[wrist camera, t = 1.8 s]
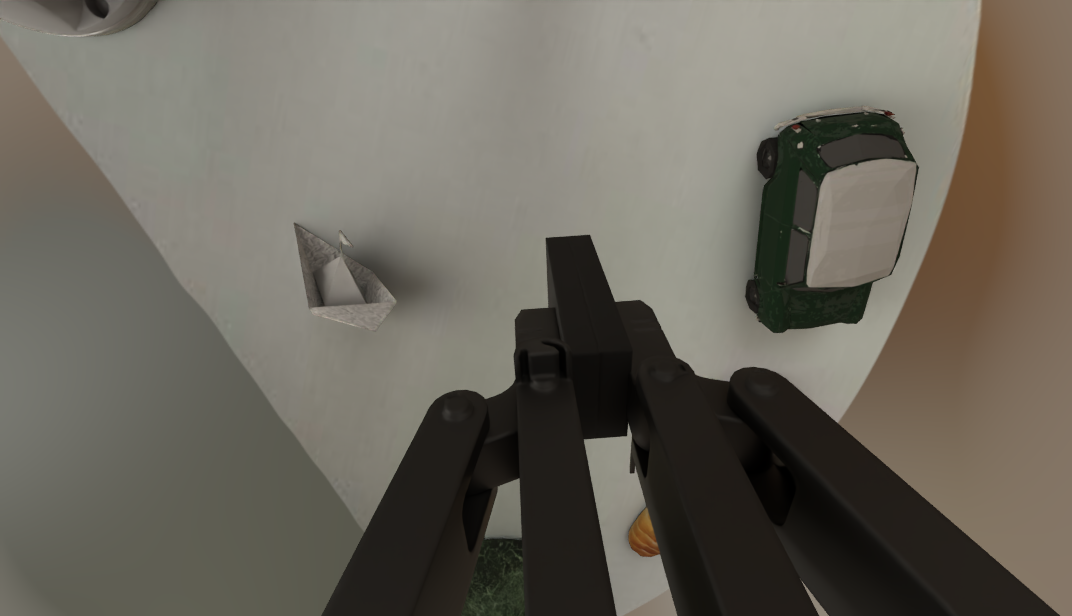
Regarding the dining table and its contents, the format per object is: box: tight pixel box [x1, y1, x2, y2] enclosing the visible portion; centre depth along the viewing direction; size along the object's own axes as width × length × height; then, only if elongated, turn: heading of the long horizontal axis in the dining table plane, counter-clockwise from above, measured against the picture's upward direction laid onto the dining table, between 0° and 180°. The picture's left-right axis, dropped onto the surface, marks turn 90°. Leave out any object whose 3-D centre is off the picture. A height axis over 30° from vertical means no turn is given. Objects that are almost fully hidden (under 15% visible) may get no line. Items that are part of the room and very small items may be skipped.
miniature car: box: [745, 106, 919, 333], centre depth 39 cm, size 9×18×8 cm, turn 7°
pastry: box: [628, 507, 660, 557], centre depth 59 cm, size 9×7×4 cm
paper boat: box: [294, 223, 397, 331], centre depth 40 cm, size 12×6×9 cm
